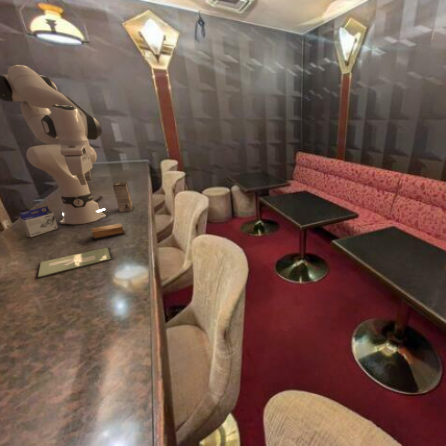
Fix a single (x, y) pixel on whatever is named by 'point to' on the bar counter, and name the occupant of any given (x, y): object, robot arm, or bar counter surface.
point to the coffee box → (122, 196)
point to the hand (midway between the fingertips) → (86, 182)
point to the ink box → (38, 221)
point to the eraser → (107, 231)
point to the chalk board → (73, 262)
